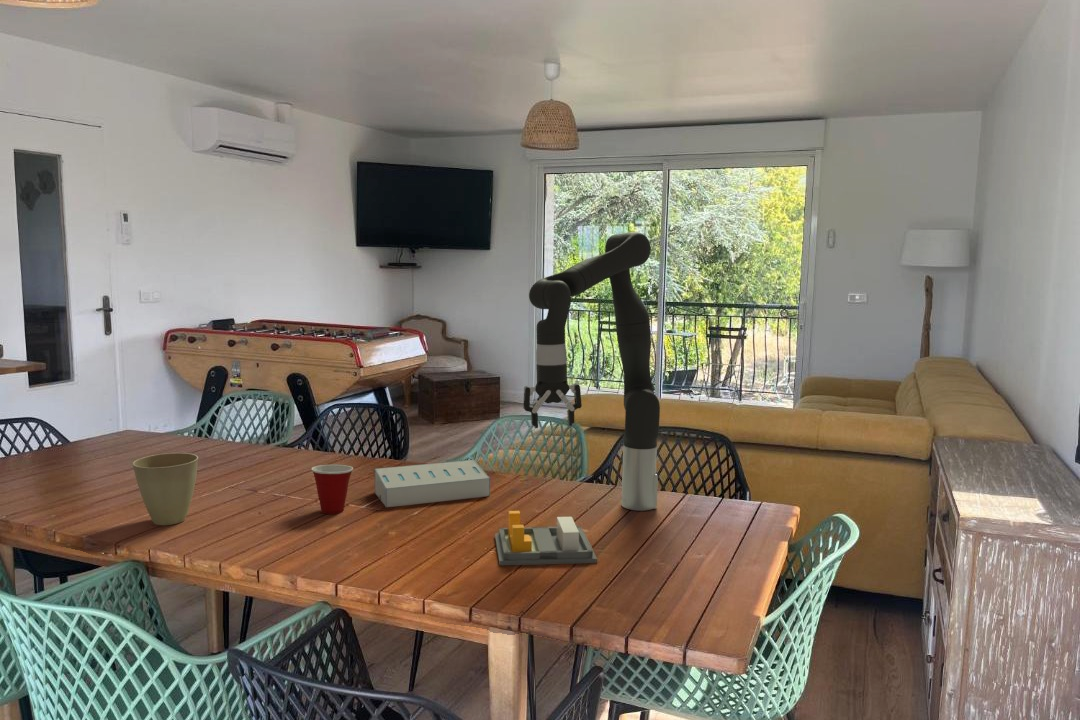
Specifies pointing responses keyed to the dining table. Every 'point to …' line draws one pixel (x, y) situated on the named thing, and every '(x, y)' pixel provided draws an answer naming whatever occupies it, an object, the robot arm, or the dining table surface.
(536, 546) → the dock
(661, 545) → the dining table surface
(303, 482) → the dining table surface
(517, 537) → the orange stepped block
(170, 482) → the plant pot
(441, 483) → the warehouse
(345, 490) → the plastic cup
